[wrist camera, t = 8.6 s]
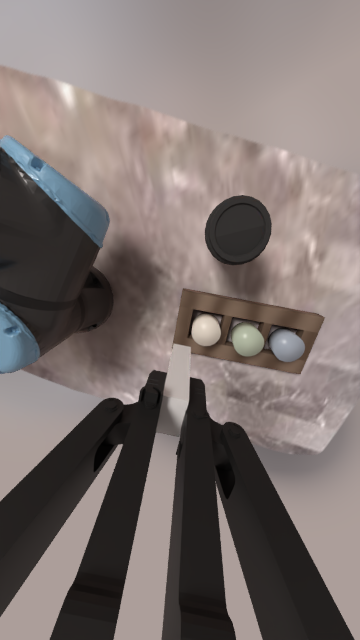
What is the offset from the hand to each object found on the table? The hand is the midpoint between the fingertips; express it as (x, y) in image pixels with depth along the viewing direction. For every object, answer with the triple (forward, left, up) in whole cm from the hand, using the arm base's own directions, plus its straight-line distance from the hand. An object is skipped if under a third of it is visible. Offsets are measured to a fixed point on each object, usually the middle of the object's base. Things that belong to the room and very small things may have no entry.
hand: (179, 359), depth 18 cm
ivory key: (+4, -6, -25) cm, 26 cm away
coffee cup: (+4, +12, -27) cm, 30 cm away
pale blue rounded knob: (+20, -6, -25) cm, 33 cm away
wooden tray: (+12, -6, -27) cm, 30 cm away
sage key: (+12, -6, -24) cm, 28 cm away
